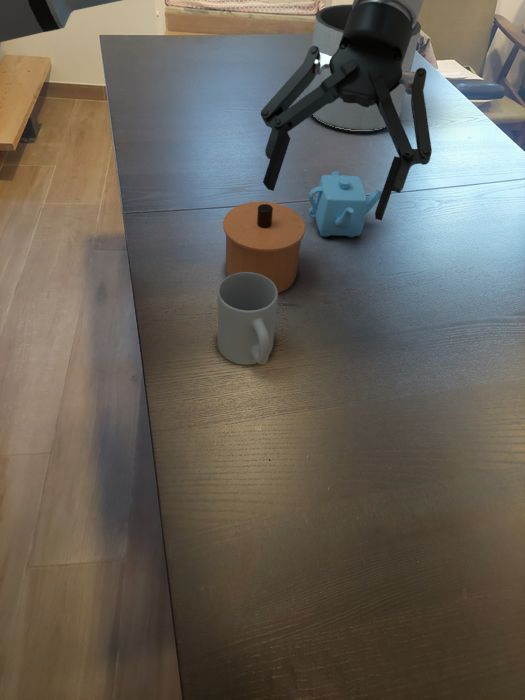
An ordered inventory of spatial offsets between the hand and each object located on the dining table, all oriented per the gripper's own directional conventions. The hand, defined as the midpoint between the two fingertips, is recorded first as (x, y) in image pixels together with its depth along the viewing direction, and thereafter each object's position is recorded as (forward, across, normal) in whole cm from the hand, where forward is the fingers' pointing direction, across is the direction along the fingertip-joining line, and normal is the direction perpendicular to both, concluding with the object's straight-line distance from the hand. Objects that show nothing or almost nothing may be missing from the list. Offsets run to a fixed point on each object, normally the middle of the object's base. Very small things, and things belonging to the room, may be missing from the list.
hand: (321, 201), depth 60 cm
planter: (-43, +16, -79) cm, 91 cm away
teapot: (-6, +4, -42) cm, 43 cm away
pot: (+8, +12, -28) cm, 32 cm away
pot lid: (+1, +12, -22) cm, 25 cm away
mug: (+21, +6, -15) cm, 27 cm away
